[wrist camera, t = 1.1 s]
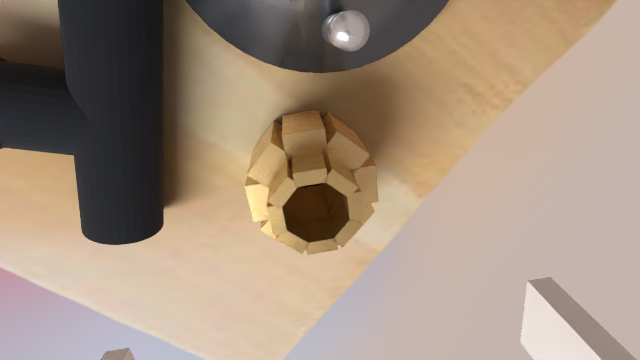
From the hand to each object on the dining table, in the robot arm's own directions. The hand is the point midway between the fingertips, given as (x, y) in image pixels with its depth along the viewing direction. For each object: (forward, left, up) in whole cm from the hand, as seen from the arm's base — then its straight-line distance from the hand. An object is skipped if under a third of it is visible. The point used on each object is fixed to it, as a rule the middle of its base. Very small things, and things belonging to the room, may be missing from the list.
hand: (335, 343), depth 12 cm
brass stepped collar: (0, 0, -16) cm, 16 cm away
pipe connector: (-7, -14, -17) cm, 23 cm away
